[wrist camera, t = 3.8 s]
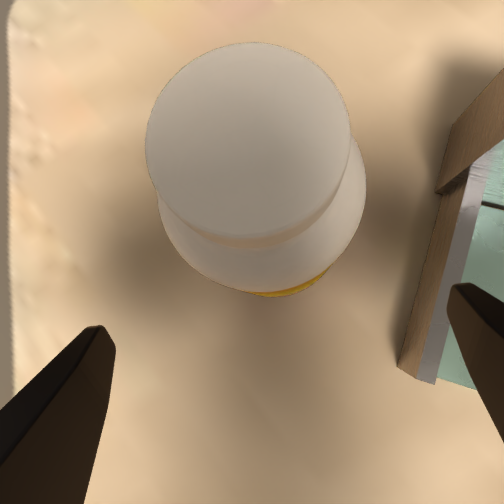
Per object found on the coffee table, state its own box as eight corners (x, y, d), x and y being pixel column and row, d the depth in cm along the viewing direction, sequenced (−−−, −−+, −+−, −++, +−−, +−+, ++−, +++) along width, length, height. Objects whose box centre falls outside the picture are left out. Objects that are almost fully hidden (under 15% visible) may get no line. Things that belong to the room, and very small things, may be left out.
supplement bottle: (360, 247, 20) (471, 157, 8) (264, 321, 20) (216, 355, 8) (284, 156, 21) (271, -52, 9) (193, 227, 22) (50, 121, 9)
